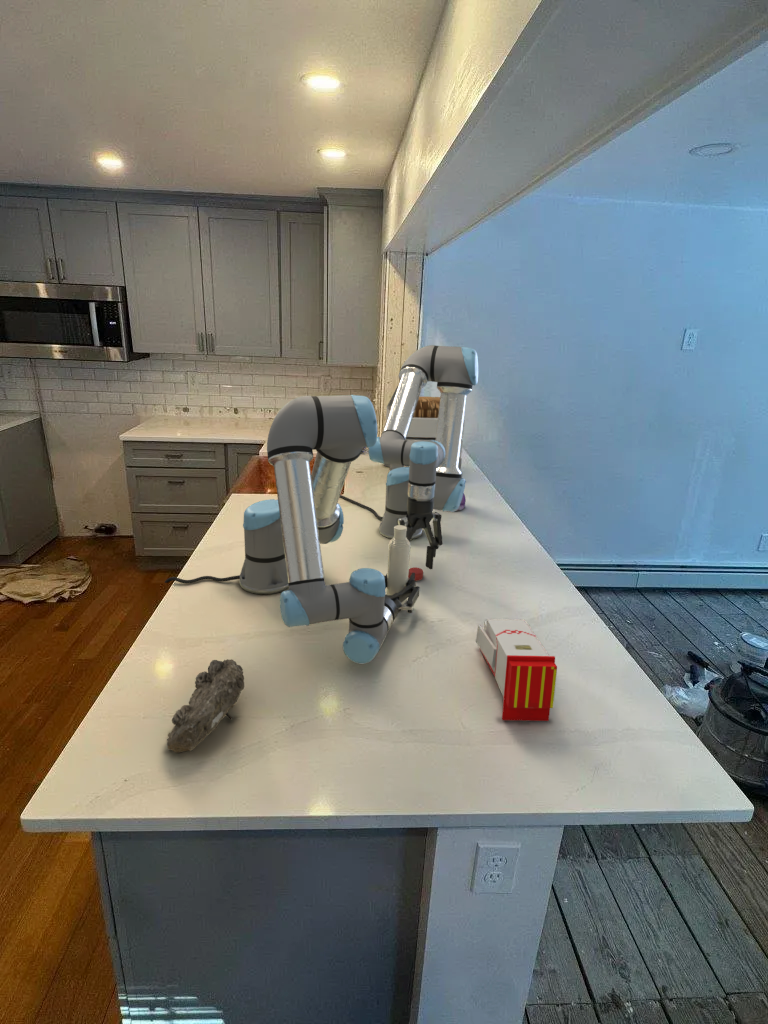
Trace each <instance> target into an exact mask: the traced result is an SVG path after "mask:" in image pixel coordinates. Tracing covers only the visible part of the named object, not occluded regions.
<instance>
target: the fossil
mask: <svg viewBox="0 0 768 1024" xmlns="http://www.w3.org/2000/svg"><path fill="white" fill-rule="evenodd" d="M243 670H244V669H243V667H242V665H240V664H237V662H236V661H235V660H234V659H232V658H231V659H227V658H226V659H224V660H223V661H222V660H217V659H212V660H211V661H210V663H209V665H208V666H207V671H201V672H199V673H198V674H197V675H196V676H195V680H194V684H195V685H194V687H195V689H194V690H193V693H192V694H191V697H190V698H189V700H188V704H184V705H182V706H181V707H180V709H177V710H176V711H175V713H174V715H173V716H172V718H171V723H172V724H173V727H172V730H171V731H170V732H168V734H167V738H166V741H167V742H166V745H167V749H168V750H169V751H173V752H174V753H176V754H178V753H182V752H188V751H189V752H192V751H193V750H195V748H196V747H197V746H199V744H200V743H201V742H203V741H204V740H205V739H206V738H207V737H208V736H209V735H210V734H211V733H212V732H214V730H215V729H217V727H218V726H219V724H220V722H221V721H222V720H223V719H224V718H225V716H226V717H227V719H229V720H233V717H232V715H230V714H229V710H230V709H231V708H234V706H235V704H236V703H237V702H238V699H239V697H240V695H241V693H242V691H243V690H245V689H244V688H245V675H244V671H243Z"/></svg>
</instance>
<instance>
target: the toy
mask: <svg viewBox="0 0 768 1024" xmlns="http://www.w3.org/2000/svg"><path fill="white" fill-rule="evenodd" d="M476 629H477V631H476V638H475V642H476V645H477V646H478V648H479V650H480V652H481V654H482V656H483V658H484V660H485V661H486V664H487V666H488V668H489V669H490V671H491V672H492V675H493V676H494V679H495V681H496V685H497V686H498V688H499V690H500V692H501V695H502V697H503V701H502V712H501V720H502V721H521V722H523V721H526V722H528V721H529V722H550V712H551V709H554V702H555V692H556V681H557V673H558V665H557V664H556V656H555V655H550V654H549V652H548V651H547V650H546V648H545V647H544V645H543V644H542V642H541V641H540V639H539V638H538V637H537V635H536V634H535V632H534V631H533V629H532V627H531V625H530V624H528V623H527V621H526V619H521V618H518V619H515V618H513V619H512V618H486V620H484V621H483V626H482V625H481V624H477V628H476Z"/></svg>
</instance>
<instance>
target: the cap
mask: <svg viewBox="0 0 768 1024" xmlns="http://www.w3.org/2000/svg"><path fill="white" fill-rule="evenodd" d="M412 572H413V573H415V581H416V582H417V581H421V580H423V578H424V569H422V568H420V567H417V566H416V567H409V576H408V579H409V578H410V576H411V574H412Z"/></svg>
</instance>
